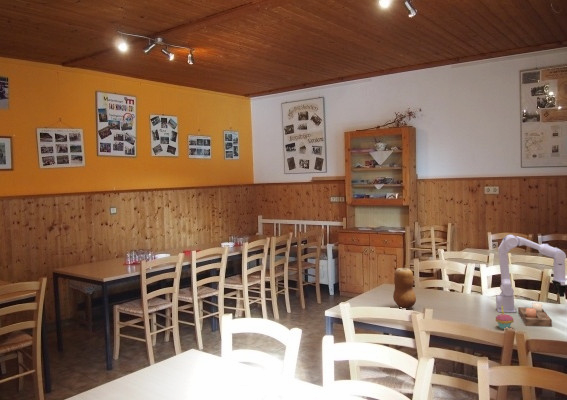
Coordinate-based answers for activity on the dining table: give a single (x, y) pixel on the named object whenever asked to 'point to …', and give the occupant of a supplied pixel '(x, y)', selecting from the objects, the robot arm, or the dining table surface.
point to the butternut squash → (404, 288)
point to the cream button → (537, 307)
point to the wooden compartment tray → (540, 319)
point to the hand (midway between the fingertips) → (559, 294)
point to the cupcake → (504, 320)
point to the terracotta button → (530, 312)
